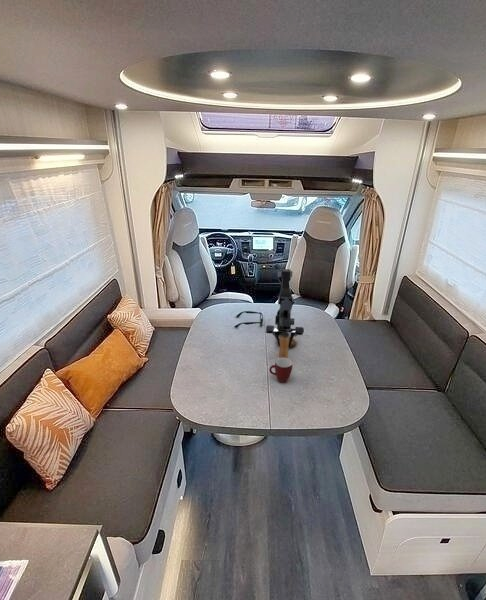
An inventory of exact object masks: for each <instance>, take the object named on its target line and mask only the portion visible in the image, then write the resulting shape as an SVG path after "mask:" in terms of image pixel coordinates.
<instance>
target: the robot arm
mask: <svg viewBox="0 0 486 600" xmlns="http://www.w3.org/2000/svg"><path fill="white" fill-rule="evenodd" d="M277 278H278V281H279V284H280V291H279V295H278V296H277V304H278V305H279V309H278V310H277V312H276V314H275V319H274V325H271V324H270V325H269V324H267V325H266V326H265V333H266V334H271V335H272V336H274V338H275V340H276V344H277V343H278V344H277V347H278V348H279V344H280V343H279V338H280V335H281V334H282V333H290V334H289V336H290V340H289V347H290V345H291V342H292V339H293V338H295V337H297V336H303V335H304V333H305V328H304V327H303V326H295V318H293V317H291V315H292V314H291V313H292V310H293V309H292V308H293V305H294V304H295V298H294V296H293V293H292V291H291V290H290V282H291V280H292V278H293V270H291V268H279V270H277ZM275 326H276V327H275ZM292 326H295V328H292Z"/></svg>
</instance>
